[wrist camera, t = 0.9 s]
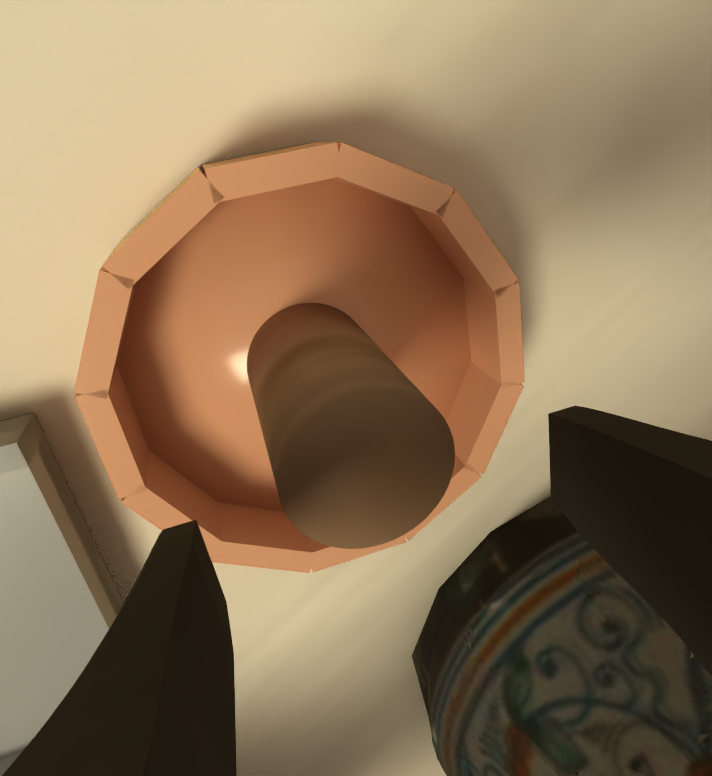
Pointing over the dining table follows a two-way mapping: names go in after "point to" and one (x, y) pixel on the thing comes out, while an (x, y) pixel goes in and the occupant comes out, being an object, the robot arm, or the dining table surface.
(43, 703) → the slate tray
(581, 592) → the beer stein
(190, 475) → the terracotta bowl
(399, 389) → the walnut peg
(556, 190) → the dining table surface
